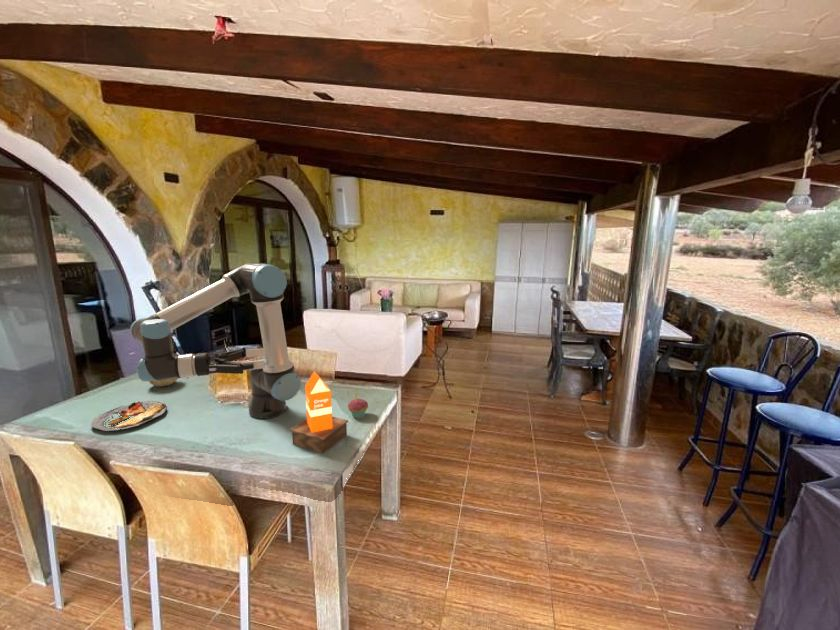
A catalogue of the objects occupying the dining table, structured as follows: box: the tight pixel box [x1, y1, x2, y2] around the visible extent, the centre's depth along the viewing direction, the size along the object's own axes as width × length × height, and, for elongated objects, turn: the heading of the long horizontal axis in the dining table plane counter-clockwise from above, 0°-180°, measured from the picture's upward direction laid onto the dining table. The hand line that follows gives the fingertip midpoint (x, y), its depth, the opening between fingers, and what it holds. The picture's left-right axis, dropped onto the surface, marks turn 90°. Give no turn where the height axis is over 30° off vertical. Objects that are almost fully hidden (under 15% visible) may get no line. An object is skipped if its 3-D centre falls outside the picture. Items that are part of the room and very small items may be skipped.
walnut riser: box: [289, 415, 349, 454], centre depth 144 cm, size 15×15×6 cm
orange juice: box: [304, 370, 333, 433], centre depth 141 cm, size 8×9×20 cm
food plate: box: [91, 400, 168, 432], centre depth 159 cm, size 25×23×4 cm
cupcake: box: [347, 391, 369, 419], centre depth 162 cm, size 9×8×12 cm
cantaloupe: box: [148, 378, 179, 387], centre depth 192 cm, size 15×15×15 cm
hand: (265, 357), depth 133 cm, fingers open, 13 cm apart
